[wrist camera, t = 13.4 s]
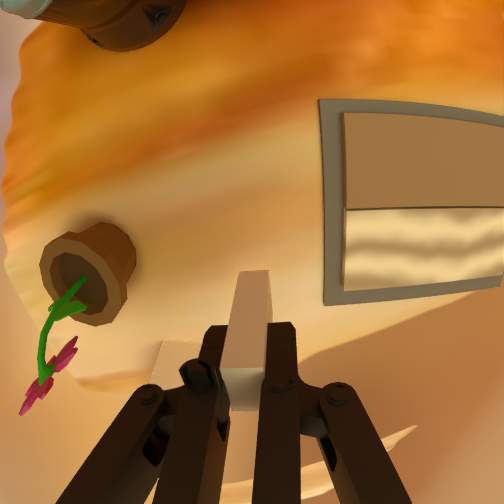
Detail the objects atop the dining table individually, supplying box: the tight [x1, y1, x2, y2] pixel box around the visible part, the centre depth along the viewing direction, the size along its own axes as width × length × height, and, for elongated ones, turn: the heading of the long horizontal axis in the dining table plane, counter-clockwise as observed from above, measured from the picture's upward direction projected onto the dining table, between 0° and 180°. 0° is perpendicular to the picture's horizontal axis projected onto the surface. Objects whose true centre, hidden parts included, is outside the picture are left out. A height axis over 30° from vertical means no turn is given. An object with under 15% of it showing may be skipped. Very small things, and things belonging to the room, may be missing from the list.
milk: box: [148, 339, 203, 479], centre depth 45 cm, size 12×12×26 cm
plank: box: [341, 206, 504, 291], centre depth 40 cm, size 12×30×2 cm, turn 96°
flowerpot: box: [19, 223, 136, 416], centre depth 33 cm, size 14×14×30 cm
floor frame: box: [319, 99, 504, 306], centre depth 38 cm, size 30×35×3 cm
